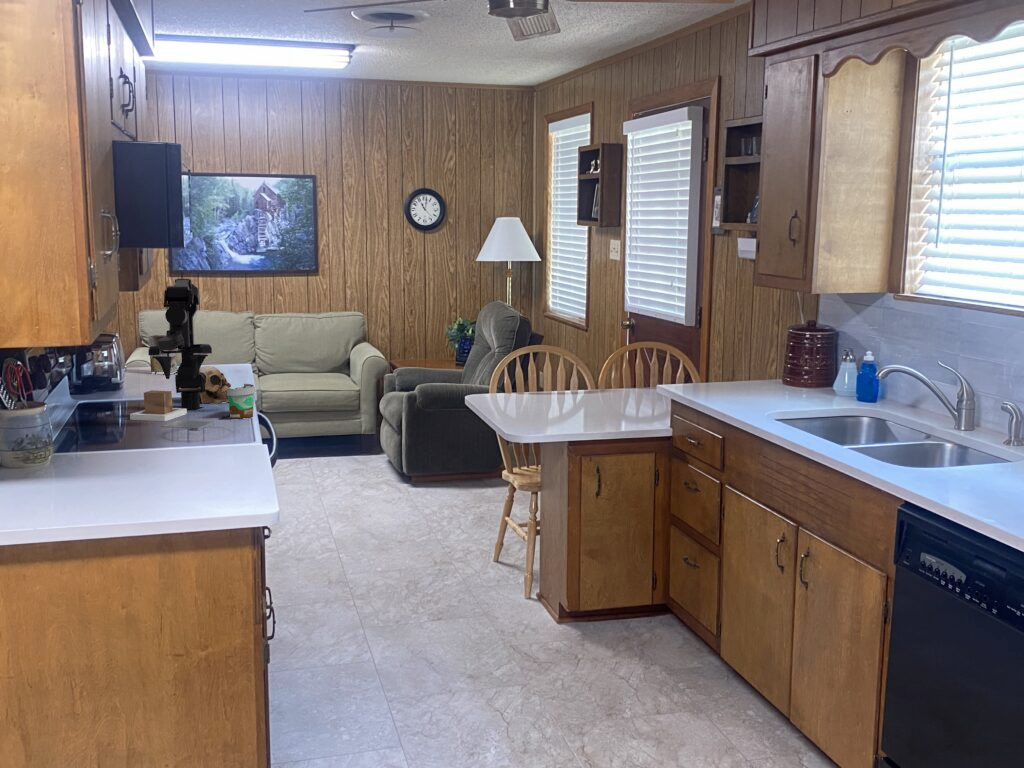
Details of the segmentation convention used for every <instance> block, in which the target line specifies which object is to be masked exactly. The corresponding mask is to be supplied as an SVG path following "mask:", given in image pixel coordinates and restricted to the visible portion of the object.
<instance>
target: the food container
mask: <svg viewBox="0 0 1024 768" xmlns="http://www.w3.org/2000/svg"><path fill="white" fill-rule="evenodd" d="M255 393H257V391H256V387H255V385H254V384H250V383H243V386H241V387H235V388H231V389H228V391H227V396H228V400H229V403H228V408H229V420H230V419H239V420H244V419H243V418H248V419H252V418H253V417H254V398H255ZM251 417H252V418H251Z"/></svg>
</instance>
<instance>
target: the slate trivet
mask: <svg viewBox="0 0 1024 768" xmlns="http://www.w3.org/2000/svg"><path fill="white" fill-rule="evenodd" d="M213 425H215V421H207V420H189V419H188V420H186V419H184V420H183V419H179V420H176V421H172V422H170V423H167V424H164V425H161V428H174V429H175V428H176V429H177V428H179V429H187V431H200V430H202V429H205V427H206V428H208V427H211V426H213Z"/></svg>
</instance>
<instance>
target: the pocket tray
mask: <svg viewBox="0 0 1024 768" xmlns="http://www.w3.org/2000/svg"><path fill="white" fill-rule="evenodd" d="M172 410H173V412H170V413H167V414H163V415H158V414H145V409H143V410H139V411H136V412H132V413H129V420H130V421H147V422H149V421H152V422H153V421H154V422H167V421H170V420H173V419H176V418H179V417H182V416H184V415H188V410H187V409H185V408H181V407H172Z"/></svg>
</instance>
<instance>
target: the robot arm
mask: <svg viewBox="0 0 1024 768" xmlns="http://www.w3.org/2000/svg"><path fill="white" fill-rule="evenodd" d="M192 282H193V281H192V279H191V278H175V279H174V284H173V285H167V287H166V289H165V290H164V291H163V295H164V296H163V308H167V309H166V311H165V315H164V316H165V320H166V322H168V328H169V329H168V330H166V333H165V335H166V336H165V337H163V338H161V339H159V340H157V343H158V346H150V348H149V347H148V351H147V353H148V356H149V357H150V356H153V358H155V359H156V360H157V361H158V362H159V363H160V365H161V367H162V370H163V372H164V374H165V375H164V377H165V379H166V380H170V377H171V375H170V370H171V357H170V356H167V355H169V354H170V353H176V354H181V362H180V364H179V366H178V367H177V373H176V374H175V375H174V376H175V377H174V379H175V381H174V382H175V392H176V394H180V403H181V404H180V405H181V407H180V408H185V409H187V411H197V410H201V409H203V408H205V407H204V406H201V402H200V395H199V392H204V391H205V380H204V378H203V376H202V374H200V367H202V364H203V363H204V361H205V360H206V357H209V354H213V350H212V346H211V344H209V343H195V334H194V331H195V329H194V317H195V315H196V313H197V312H198V310H199V307H198V305H200V292H199V288H198V287H197V286H195V284H193V283H192ZM175 349H176V350H175ZM199 387H201V388H199ZM182 388H194V389H182Z"/></svg>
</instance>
